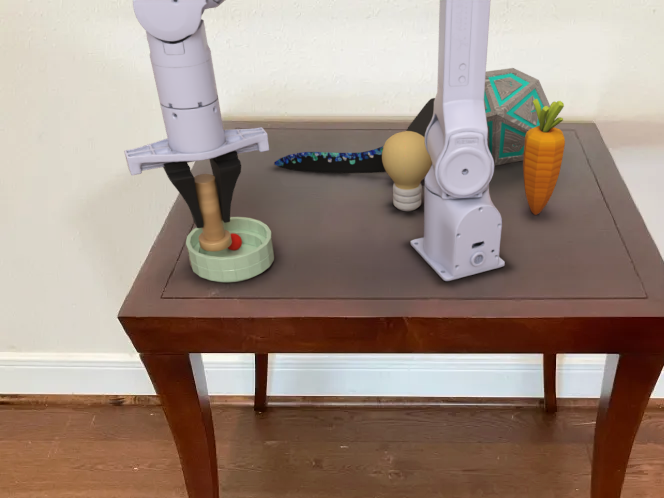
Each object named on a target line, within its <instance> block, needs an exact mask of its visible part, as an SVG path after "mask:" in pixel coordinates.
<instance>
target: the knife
mask: <svg viewBox="0 0 664 498" xmlns="http://www.w3.org/2000/svg"><path fill="white" fill-rule="evenodd" d="M383 147H384V145H381V146H380V147H377V148H374V149H370V150H366V151H359V152H328V151H301V152H295V153H291V154H287V155H284V156H282V157H280V158H278V159H277V160H275V161H274V162H273V163H274V164H273V165H274V166H276V167H279V168H282V169H287V170H291V171H299V172H300V171H301V172H311V173H325V174H327V173H329V174H375V173H376V174H377V173H378V174H379V173H387V172H386V170H385V168H384V166H383V162H382V151H383Z"/></svg>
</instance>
